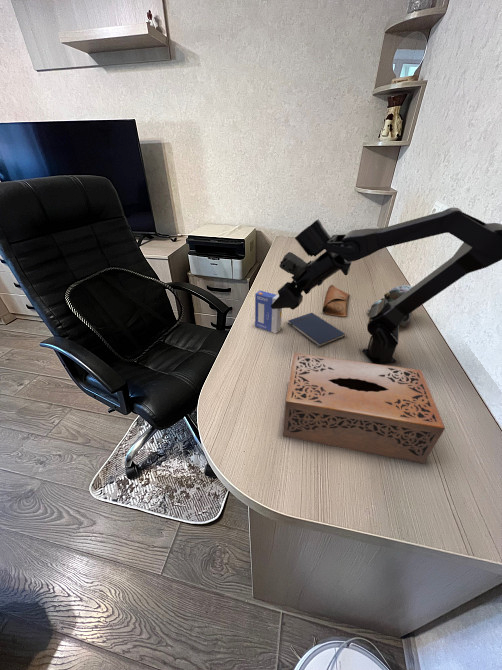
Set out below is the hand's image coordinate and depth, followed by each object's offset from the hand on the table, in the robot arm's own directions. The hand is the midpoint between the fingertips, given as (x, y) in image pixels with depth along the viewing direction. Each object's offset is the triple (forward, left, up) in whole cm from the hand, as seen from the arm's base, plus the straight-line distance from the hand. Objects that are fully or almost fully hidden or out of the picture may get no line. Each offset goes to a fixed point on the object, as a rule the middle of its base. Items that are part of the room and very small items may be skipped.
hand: (277, 300), depth 81 cm
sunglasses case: (+13, -26, -11) cm, 31 cm away
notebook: (-2, -12, -11) cm, 16 cm away
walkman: (+2, +2, -11) cm, 11 cm away
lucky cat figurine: (0, -39, -11) cm, 41 cm away
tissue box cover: (-36, -6, -11) cm, 38 cm away
